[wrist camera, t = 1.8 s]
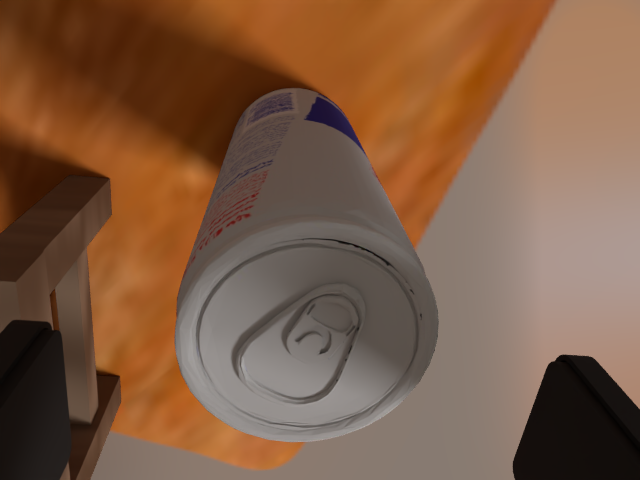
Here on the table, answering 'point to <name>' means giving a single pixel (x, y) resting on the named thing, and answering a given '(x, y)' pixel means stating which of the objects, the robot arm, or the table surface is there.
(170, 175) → the table surface
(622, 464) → the robot arm
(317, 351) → the beverage can
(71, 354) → the stool
